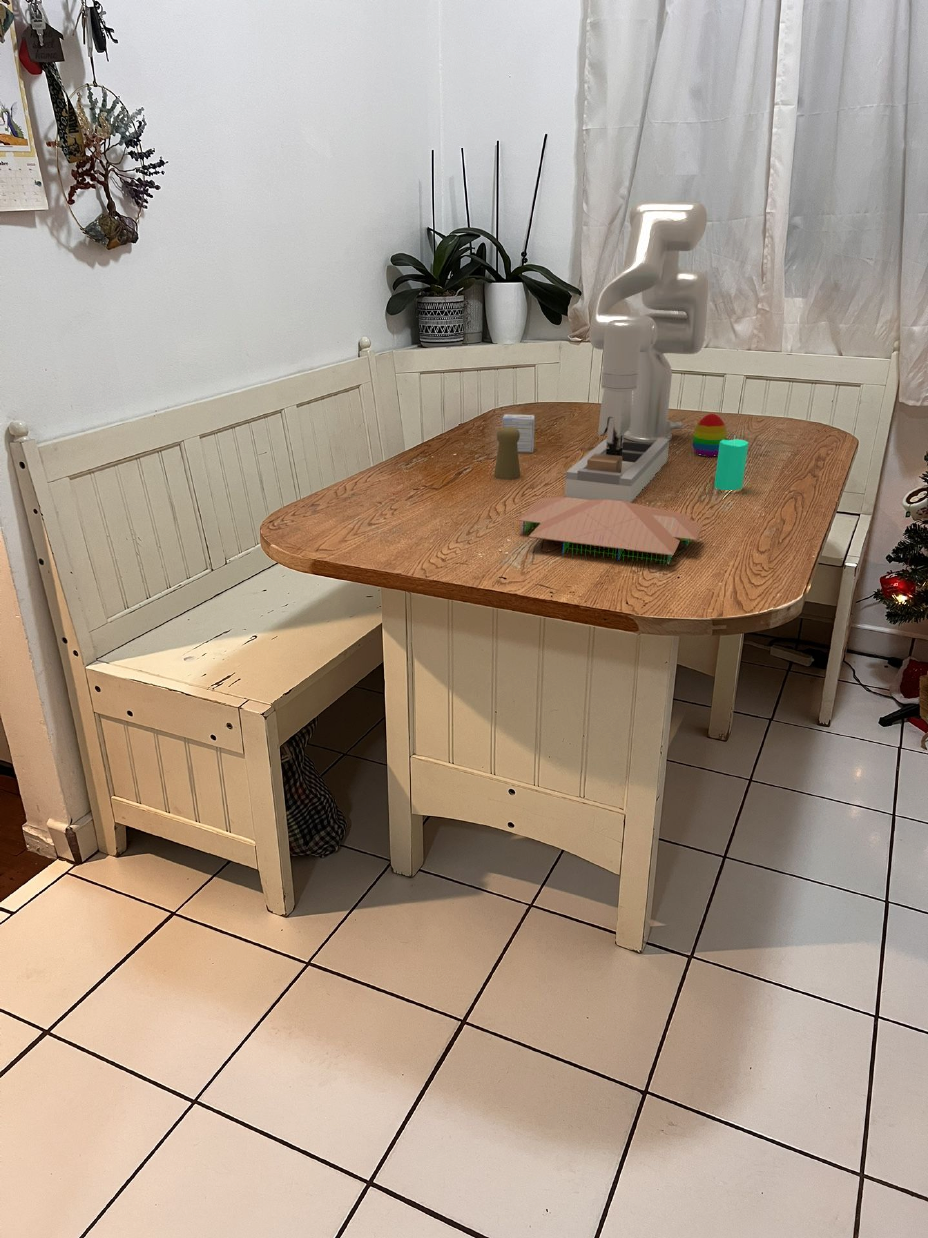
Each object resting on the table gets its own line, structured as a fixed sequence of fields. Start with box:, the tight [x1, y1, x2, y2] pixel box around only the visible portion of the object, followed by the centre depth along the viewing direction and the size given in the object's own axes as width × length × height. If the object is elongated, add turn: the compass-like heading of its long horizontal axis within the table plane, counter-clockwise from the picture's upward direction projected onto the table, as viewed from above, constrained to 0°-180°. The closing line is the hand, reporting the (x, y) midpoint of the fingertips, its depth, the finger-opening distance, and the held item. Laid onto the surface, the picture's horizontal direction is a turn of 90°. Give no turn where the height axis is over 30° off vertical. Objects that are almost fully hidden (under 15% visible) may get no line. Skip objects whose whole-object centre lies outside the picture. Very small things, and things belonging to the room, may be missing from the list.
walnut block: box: [587, 453, 623, 473], centre depth 196 cm, size 6×6×4 cm
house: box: [517, 496, 704, 565], centre depth 171 cm, size 23×33×8 cm
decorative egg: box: [692, 413, 728, 456], centre depth 229 cm, size 8×8×10 cm
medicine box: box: [501, 413, 536, 454], centre depth 231 cm, size 8×4×9 cm, turn 84°
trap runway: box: [564, 437, 670, 503], centre depth 209 cm, size 38×14×6 cm, turn 157°
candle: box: [713, 435, 749, 490], centre depth 201 cm, size 6×6×12 cm
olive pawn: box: [493, 427, 521, 480], centre depth 209 cm, size 6×6×11 cm
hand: (613, 465), depth 203 cm, fingers closed
